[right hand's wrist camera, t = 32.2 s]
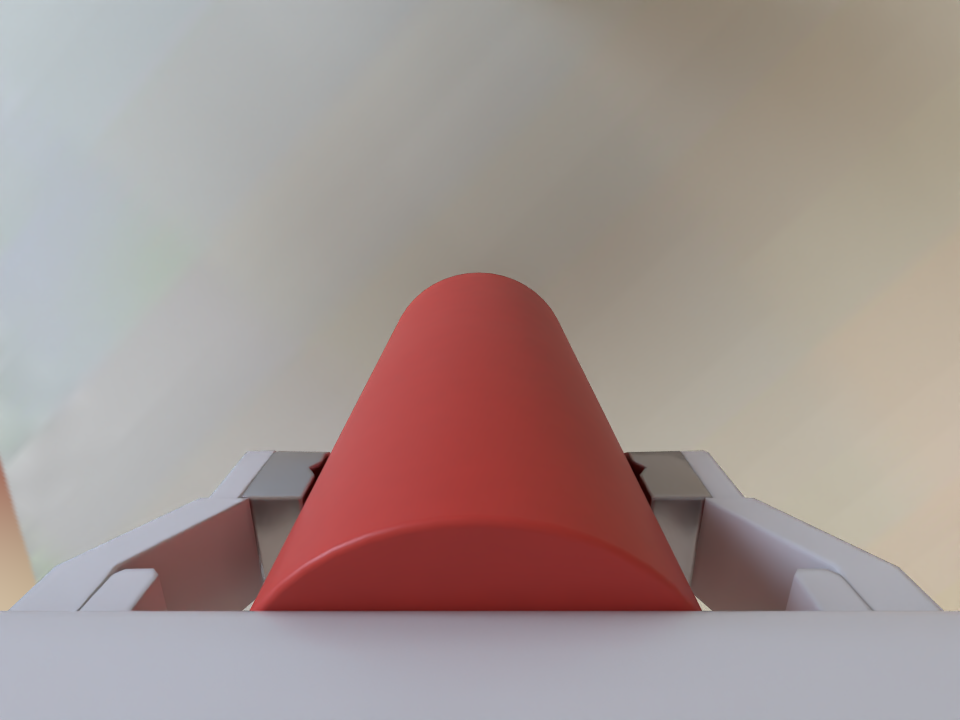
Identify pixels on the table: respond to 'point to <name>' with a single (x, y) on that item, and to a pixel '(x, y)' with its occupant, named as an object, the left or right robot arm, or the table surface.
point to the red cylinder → (477, 478)
